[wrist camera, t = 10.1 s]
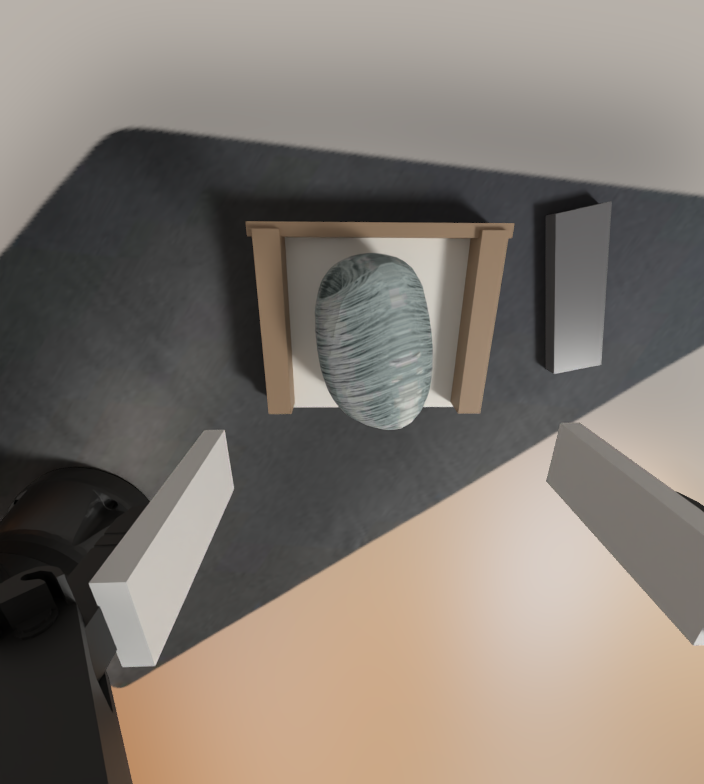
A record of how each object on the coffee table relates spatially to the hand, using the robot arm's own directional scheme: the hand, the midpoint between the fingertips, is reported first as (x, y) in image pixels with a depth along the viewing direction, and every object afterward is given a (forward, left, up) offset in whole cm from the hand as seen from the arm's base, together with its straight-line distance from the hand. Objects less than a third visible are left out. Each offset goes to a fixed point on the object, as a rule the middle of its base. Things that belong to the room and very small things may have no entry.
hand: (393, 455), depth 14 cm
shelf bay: (+1, +1, -21) cm, 21 cm away
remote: (+19, +4, -21) cm, 29 cm away
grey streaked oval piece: (+1, +1, -19) cm, 19 cm away
